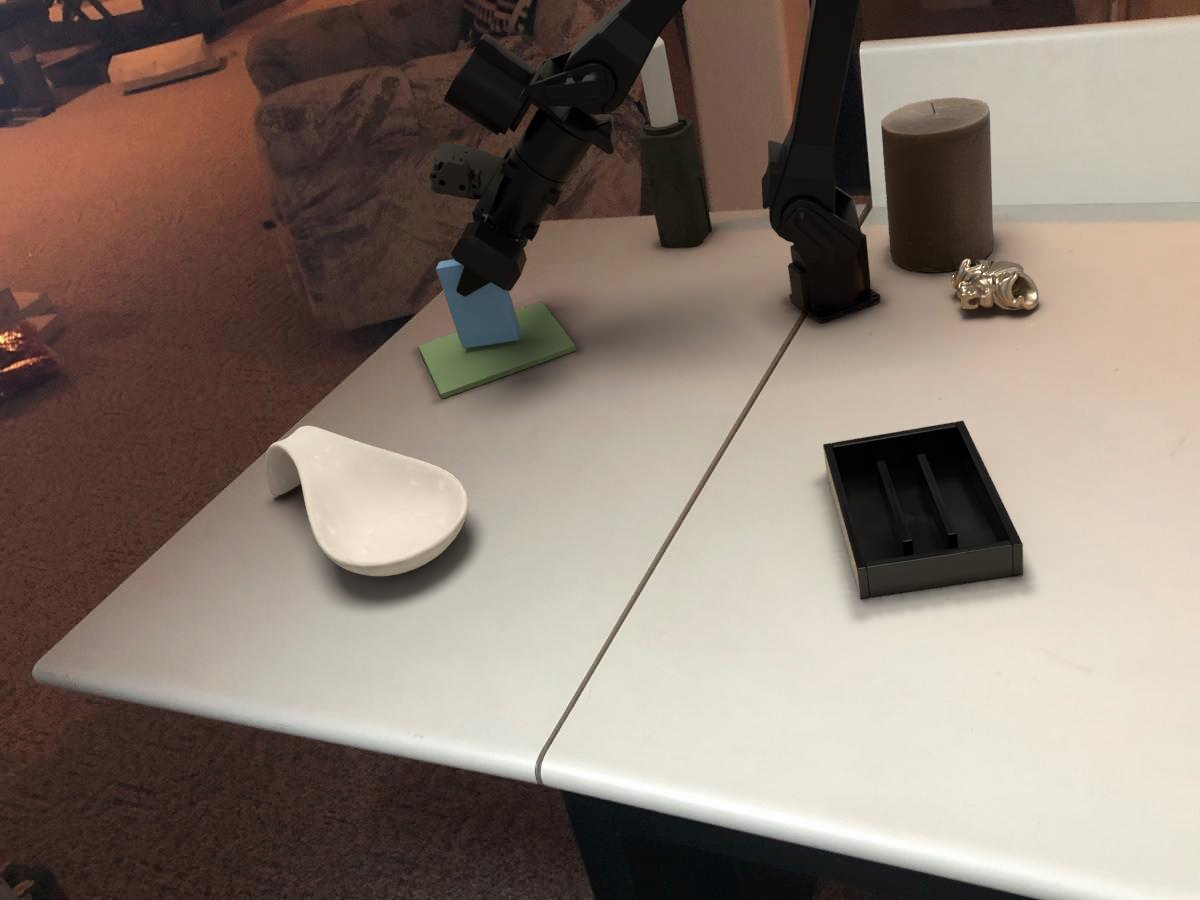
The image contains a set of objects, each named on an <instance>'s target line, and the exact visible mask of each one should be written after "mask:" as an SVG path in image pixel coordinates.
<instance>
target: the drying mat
mask: <svg viewBox="0 0 1200 900" xmlns="http://www.w3.org/2000/svg"><path fill="white" fill-rule="evenodd" d="M515 313H516V316H517V319H518V323H519V326H520V329H521V335H520V338H519V340H516V341H510V342H503V343H496V344H490V345H483V346H476V347H469V348H462V345H461V342H460V339H459V336H458V333H457V331H456V332H453V333H450V334H448V335H445V336H441V337H439V338H436V339H433V340H430V341H427V342H425V343H421V344H419V345H418V350H419V352H420V354H421V356H422V358H423V360H424V362H425V365H426V367H427V369H428V371H429V374H430V376H431V378H432V380H433V382H434V385H435V387H436V390H437V391H438V393H439V395H440V398H441V399H442V400H444V399H446V398H449V397H451V396H454V395H457V394H460V393H463V392H467V391H468V390H471V389H474V388H476V387H479V386H483V385H485V384H487V383H490V382H492V381H493V382H494V381H495V380H498V379H502V378H504V377H507V376H511V375H512V374H515V373H518V372H521V371H524V370H526V369H529V368H532V367H534V366H537V365H540V364H542V363H545V362H549V361H551V360H553V359H556V358H559V357H561V356H564V355H568V354H571V353H573V352H575V351H577V347H576V345H575V343H574V342H573V340H572V339H571V338H570V336H569V335H568V334H567V332H566V331H565V330H564V328H563V327H562V325H560V323H559V322H558V320H557V319H556V318H555V317H554V316H553V314H552V313H551V312H550V310H549V309H548V308H547V306H546V305H545V303H544V302H543V301H541V302H538V303H535V304H533V305H530V306H527V307H524V308H521V309H517V310H515Z"/></svg>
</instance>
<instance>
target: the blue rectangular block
mask: <svg viewBox="0 0 1200 900" xmlns="http://www.w3.org/2000/svg"><path fill="white" fill-rule="evenodd" d="M463 268H464V266H463V265H462V264H460V263H458V262H457V261H455V260H454V259H453V258H452V259H448V260H442V261H439V262H438V264H437V266H436V268H435V270H436V274H437V276H438V279H439V282H440V286H441V288H442V290H443V294H444V297H445V300H446V304H447V306H448V309H449V312H450V315H451V318H452V321H453V325H454V327H455V330H456V332H457V333H458V336H459V339H460V342H461V345H462V348H469V347H476V346H483V345H490V344H496V343H503V342H510V341H516V340H519V338H520V335H521V329H520V326H519V323H518V319H517V316H516V313H515V311H516V308H515V307H514V302H513V300H512V299H513V298H512V296H511V291H506V290H503V289H501V288H499V287H498V286H496V285H495V284H493V283H489V284H487V285H485V286H484V287H482V288H480V289H478V290H477V291H475V292H473V293H471V294H470V295H468V296H466V297H464V296H462V295H460V294H459V293H457V292H456V289H457V286H458V283H459V280H460V277H461V274H462V271H463Z"/></svg>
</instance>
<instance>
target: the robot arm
mask: <svg viewBox="0 0 1200 900" xmlns="http://www.w3.org/2000/svg"><path fill="white" fill-rule="evenodd" d="M687 1H688V0H623V1H621V2H620V3H619V4H617V5H616V6H615V7H614V8H612V9H611V10H610V11H608V12H607V13H606V14H605V15H604V16H603V17H601V18H600V19H599V20H598V21H597V22H596V23H595V24H594V25H593V26H591V28H589V29H588V30H587V31H586V32H585V33H584V34H582V36H581V37H580V38H579V39H578V40H577V41H576V42H575V45H574V46H573V49H571V50H568V51H565V52H563V53H560V54H557V55H555V56H554V55H553V56H551V57H549V58H546V59H543V60H541V61H540V62H539V63H538V65H537V66H536V67H534V66H533V65H531V64H530V63H528V62H527V61H525V60H524V59H522V58H521V57H519V56H517V55H516V54H515V53H513V52H512V51H511V50H509V49H508V48H506V47H504V45H503V44H502V43H501V42H500V41H499V40H498V39H496V38H495V37H493V35H491V34H489V33H487V32H486V33H483V34H482V36H481V37H480V38H479V40H478V41H477V44H476V45H475V48H474V49H473V50H472V52H471V54H470V56H468V58H467V59H466V61H465V62H464V63H463V65H462V66H461V68H460V69H459V71H458V72H457V73H456V75H455V77H454V78H453V80H452V82H451V84H450V85H449V88H448V90H447V92H446V94H445V96H444V98H443V102H444V103H446V104H448V105H449V106H451V107H452V108H454V109H455V110H457V111H458V112H460V113H462V114H463V115H465V116H466V117H468V118H469V119H470V120H472V121H474V122H475V123H478V124H479V126H482V127H483V128H485V129H486V130H488V131H489V132H490V133H493V134H494V135H495V136H499V134H501V135H503V136H506V134H507V132H508V131H511V132H512V133H515V132H516V131H517V129H518V127H519V126H520V124H521V122H522V120H523V119H524V117H525V116H526V114H527V112H528V110H529V109H530V107H531V105H533V106H535V107H536V110H535V112H534V114H533V116H532V117H531V118H530V120H529V122H528V124H527V125H526V127H525V129H524V130H523V131H522V133H521V135H520V137H519V139H518V140H517V142H516V143H515V144H514V145H513V146H512V147H508V149H507V150H506V152H505V154H504V155H503V157H502V156H500V155H495V154H492V153H490V152H488V151H486V150H482V149H478V148H474V147H469V146H467V145H462V144H458V143H453V142H444V143H442V144H441V145H440V146H439V148H438V150H437V151H436V153H435V154H434V156H433V164H432V170H431V172H430V173H429V180H430V186H429V189H430V190H431V191H432V192H434V193H436V194H438V195H448V196H452V197H455V198H460V199H466V200H467V199H468V200H473V201H477V200H478V201H477V202H476V204H475V206H474V208H473V210H472V211H471V215H472V219H473V221H470V222H467V223H466V224H465V226H464V228H463V229H462V231H461V233H460V235H459V237H458V238H457V240H456V242H455V244H454V246H453V248H452V250H451V251H450V256H451V257H452V260H453V259H454V260H455V261H457V262H458V263H460V264H462V265H463V266H464V268H463V271H462V274H461V277H460V280H459V283H458V286H457V289H456V292H457V293H459V294H460V295H462V296H464V297H466V296H468V295H470V294H471V293H473V292H475V291H477V290H478V289H480V288H482V287H484V286H485V285H487V284H489V283H493V284H495V285H496V286H498V287H499V288H501V289H503V290H506V291H509V292H511V291H512V290H513V288H514V287H515V285H516V284H517V282H518V281H519V279H520V278H521V276H522V274H523V272H524V271H523V270H524V269H525V266H526V263H527V261H528V258H527V255H526V252H525V248H526V247H527V245H528V241H531V242H533V240H534V239H535V237H536V236H537V234H538V232H539V229H540V227H541V224H542V222H543V221H544V219H545V218H546V216H547V214H548V213H549V211H550V210H551V208H552V207H555V206H556V205H557V204H558V202H559V200H560V199H561V197H562V193H563V190H564V188H565V187H566V186H567V184H568V182H569V181H570V179H571V178H572V176H573V174H574V172H576V170H577V168H578V167H579V165H580V164H581V162H582V161H583V159H584V157H585V156H586V154H587V153H588V152H589V150H590V148H591V147H592V145H593V146H594V147H596V148H597V149H599V150H600V151H602V152H604V153H605V154H606V155H613V154H614V152H615V148H616V145H617V141H618V135H617V132H616V129H615V125H614V121H615V116H614V115H613V114H611V113H613V112H615V111H616V110H617V109H618V108H619V107H621V106H622V105H623V103H624V102H625V100H626V99H627V97H628V95H629V93H630V91H631V89H632V88H633V86H634V84H635V83H636V80H637V79H638V77H639V76H640V74H641V70H642V68H643V66H644V64H645V62H646V60H647V58H648V56H649V54H650V52H651V50H652V48H653V46H654V44H655V43H656V41H657V39H658V37H660V35H661V33H662V32H663V30H664V29H665V28H666V27H667V26H668V24H669V23H670V22H671V21H672V19H673V18H674V17H675V16H676V14H677V13H678V12H679V11H680V9H681V8H682V7H683V6H684V5H685V3H686V2H687ZM861 1H862V0H811V4H810V10H809V17H808V23H807V29H806V34H805V41H804V47H803V53H802V58H801V65H800V71H799V77H798V81H797V82H798V83H797V88H796V95H795V101H794V102H795V103H794V106H793V107H794V108H793V113H792V119H791V123H790V127H789V129H788V130H787V134H786V136H785V137H784V140H783V142H778V141H773V140H771V139H770V140H768V141H767V153H768V154H767V157H768V159H767V161H768V162H767V167H766V170H765V172H764V174H763V176H762V177H761V200H762V202H761V203H762V209H764V210H766V209H768V215H769V223H770V227H771V229H772V230H773V231H774V232H775V233H776V234H777V236H778V237H779V238H781V239H782V240H785V241H786V242H789V243H792V244H791V245H790V246H789V249H790V256H791V262H790V263H788V265H787V269H788V279H789V286H790V292H791V293H789V295H788V296H789V300H790V302H792V303H793V304H794V305H796V306H797V307H798V308H800V309H801V310H802V311H804V312H805V313H806V314H807V315H809V316H810V317H811V318H813V319H814V320H815V321H816V322H819V323H824V322H827V321H830V320H833V319H835V318H838V317H841V316H843V315H847V314H849V313H852V312H855V311H857V310H860V309H863V308H865V307H868V306H870V305H871V306H872V305H873V304H876V303H878V302H880V301H881V295H880V293H878V292H877V291H875V290H873V289H872V285H871V273H870V264H869V252H868V240H867V239H868V238H867V235H866V234H865V233H863V232H862V228H861V223H860V219H859V214H858V210H857V206H856V201H855V198H854V197H852V195H850V194H848V193H847V192H846V191H844V190H843V189H841V188H840V187H838V186H837V185H836V151H835V149H836V147H835V143H836V142H835V138H836V133H837V129H838V122H839V117H840V113H841V108H842V101H843V97H844V91H845V85H846V82H847V75H848V70H849V65H850V59H851V54H852V49H853V44H854V38H855V32H856V28H857V22H858V17H859V12H860V8H861V7H860V6H861V3H862V2H861ZM600 115H601V116H600ZM602 115H604V116H602Z"/></svg>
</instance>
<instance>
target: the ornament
mask: <svg viewBox="0 0 1200 900" xmlns="http://www.w3.org/2000/svg"><path fill="white" fill-rule="evenodd" d="M970 264H971V260H970V259H965V260H963V261H962V263H961V265H960V267H959V269H957V271H956V273H955V274H952V275H951V276H950V279H951V287H952V288H953V289H955V290H956V296H957V298H958V299H960V305H961V308H962V309H964V310H975V309H978V308H979V306H981V307H983V308H985V309H988V308H991V307H993V305H994V304H995V305H996V306H997V307H999V308H1001V309H1002V310H1005V311H1020V310H1024V309H1025V310H1027V311H1028V310H1033V309H1035V308H1036V307H1037V304H1038V302H1039V298H1040V294H1039V289H1038V288H1037V285H1036V283H1035V282H1034V279H1032V277H1031V276H1029V275H1028V274H1027V273H1026V272H1024V267H1023V265H1021V264H1020V263H1017V262H1014V261H1010V260H1007V259H1004V260H995V259H994V260H991V261H987V260H985V259H980V260H976V261H975V264H974V265H973V266H971V265H970ZM1015 295H1016V296H1017V295H1018V297H1017V298H1016V297H1014V296H1015Z"/></svg>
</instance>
